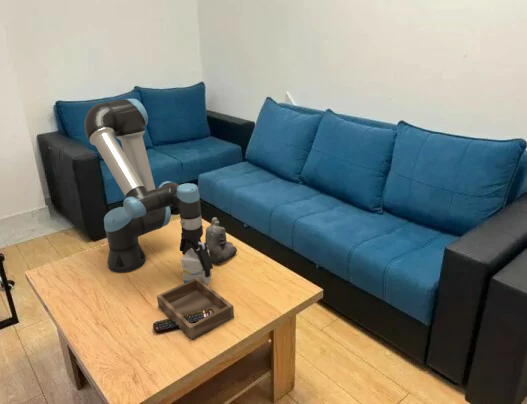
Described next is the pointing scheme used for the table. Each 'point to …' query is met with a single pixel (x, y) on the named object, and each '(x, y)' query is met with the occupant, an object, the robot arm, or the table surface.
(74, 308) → the table surface
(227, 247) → the figurine
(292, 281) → the table surface
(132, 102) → the robot arm
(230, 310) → the tray
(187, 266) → the ink box
